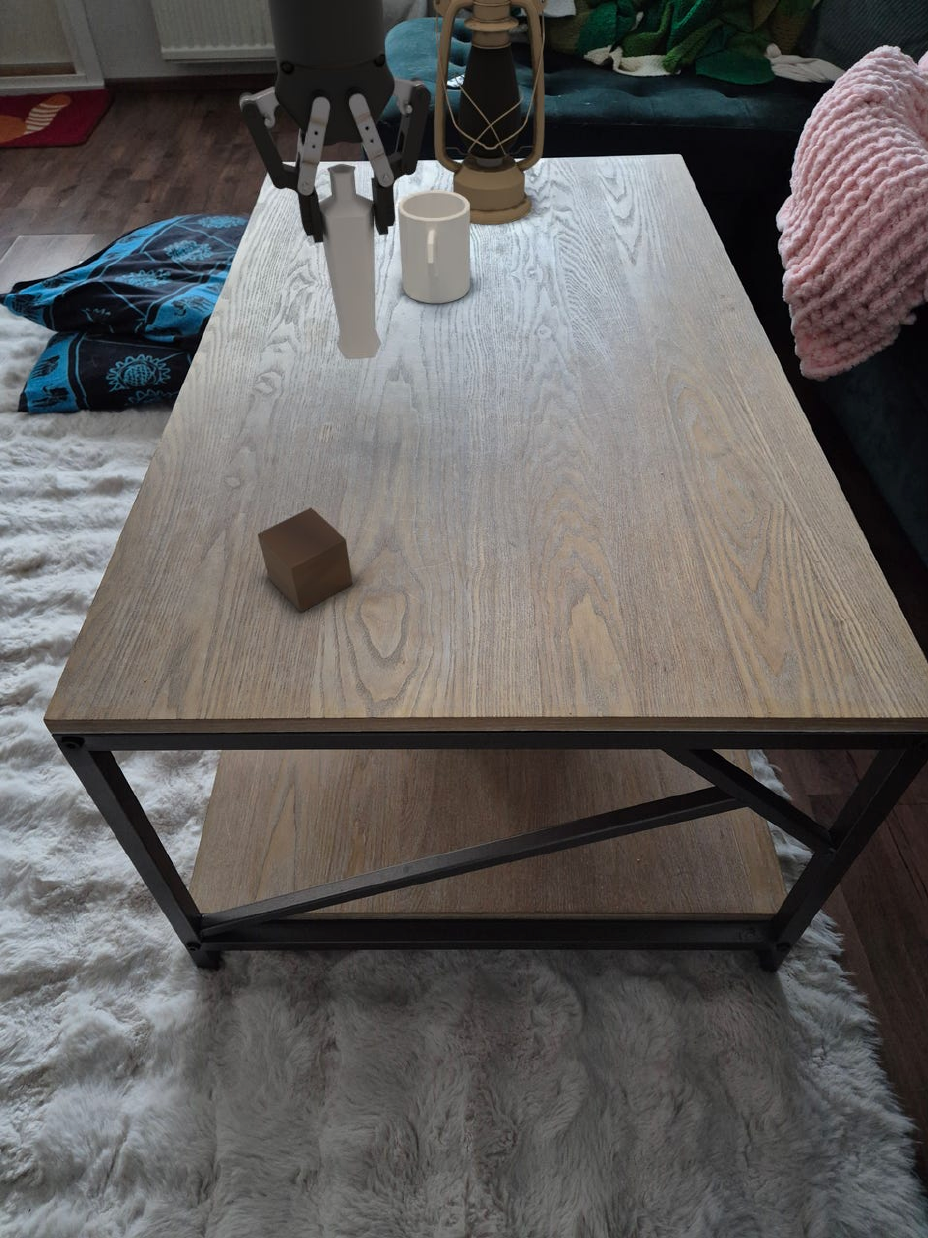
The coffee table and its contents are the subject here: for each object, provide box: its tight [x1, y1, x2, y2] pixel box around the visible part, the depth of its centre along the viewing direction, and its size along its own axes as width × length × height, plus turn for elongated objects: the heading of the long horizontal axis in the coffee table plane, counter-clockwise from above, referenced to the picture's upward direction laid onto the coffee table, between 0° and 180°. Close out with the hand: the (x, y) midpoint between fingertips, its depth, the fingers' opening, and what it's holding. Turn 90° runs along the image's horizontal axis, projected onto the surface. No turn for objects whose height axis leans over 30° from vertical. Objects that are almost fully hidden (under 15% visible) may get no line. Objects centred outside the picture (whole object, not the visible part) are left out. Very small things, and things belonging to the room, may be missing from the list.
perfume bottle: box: [319, 163, 382, 360], centre depth 70 cm, size 5×4×15 cm
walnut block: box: [257, 507, 353, 613], centre depth 68 cm, size 5×5×5 cm
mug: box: [397, 189, 471, 304], centre depth 98 cm, size 8×12×10 cm
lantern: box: [433, 0, 548, 225], centre depth 108 cm, size 15×12×30 cm
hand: (349, 233), depth 68 cm, fingers closed on perfume bottle, 4 cm apart
